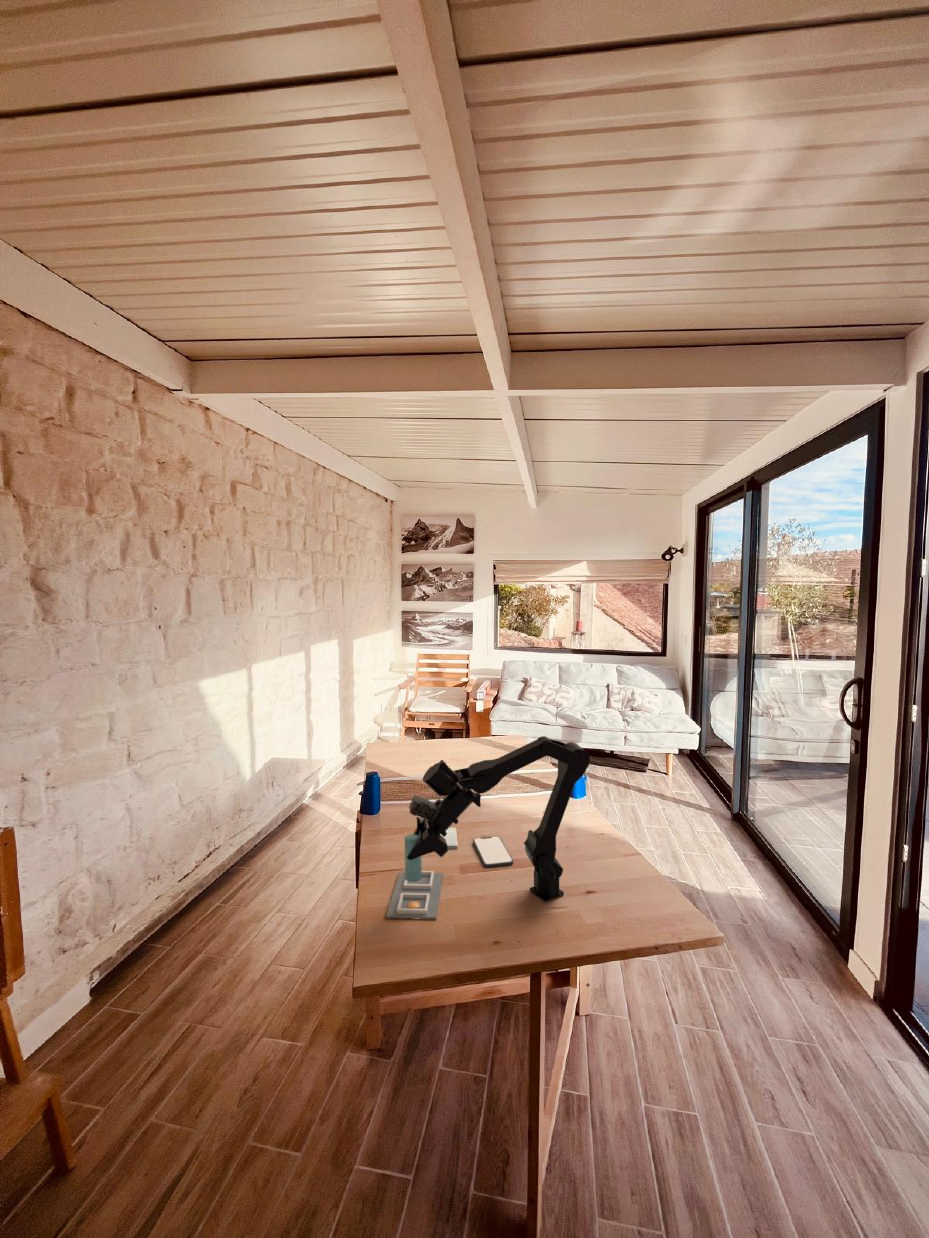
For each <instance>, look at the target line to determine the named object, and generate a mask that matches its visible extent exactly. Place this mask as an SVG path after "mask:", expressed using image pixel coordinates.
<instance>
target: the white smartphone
mask: <svg viewBox="0 0 929 1238" xmlns="http://www.w3.org/2000/svg"><path fill="white" fill-rule="evenodd" d="M472 844H473V847H474V849H475V852H476V853H477V855H478V857H479V859H480V862H481V863H482V866H483V867H484V868H485V869H490V868H491V869H492V868H500V867H501V868H502V867H508V866H513V865H514V859H513V857H512V856H511V854H510V853H509V850H508V849H507V848H506V845H505V844H504V842H503V840H502V838H501V837H500V836H499V835H498V836H497V835H495V836H493V835H492V836H485V837H484V836H483V837H477V838H476V837H475V838H473V839H472Z"/></svg>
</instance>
